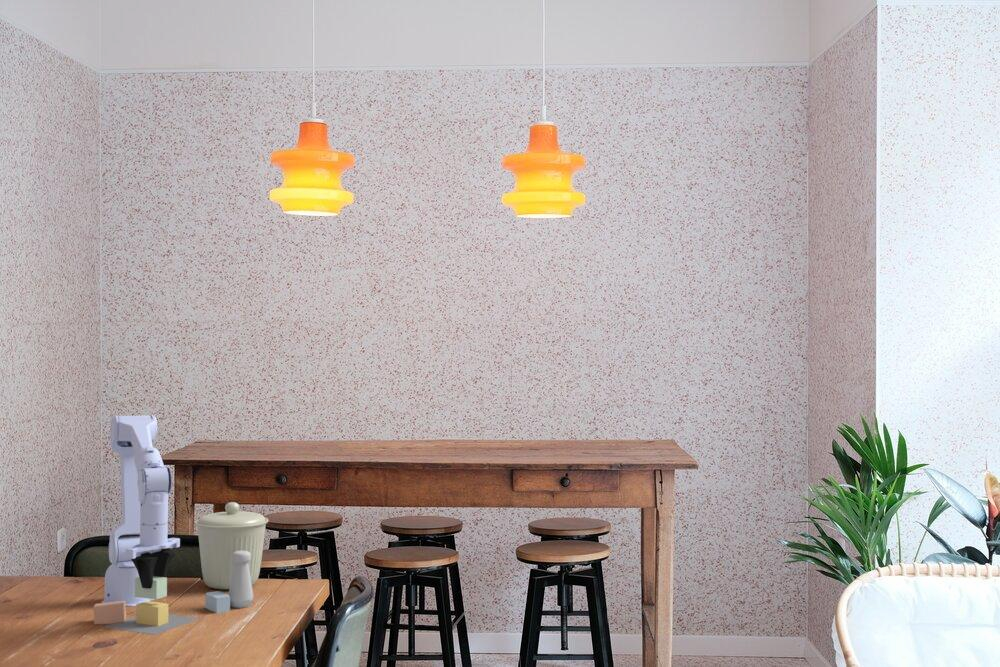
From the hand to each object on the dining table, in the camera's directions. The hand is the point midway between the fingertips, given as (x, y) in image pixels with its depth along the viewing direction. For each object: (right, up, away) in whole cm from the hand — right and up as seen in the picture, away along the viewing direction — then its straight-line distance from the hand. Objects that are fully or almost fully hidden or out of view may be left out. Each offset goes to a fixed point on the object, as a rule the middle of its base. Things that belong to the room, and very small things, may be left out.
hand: (152, 586), depth 216 cm
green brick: (0, -2, 0) cm, 2 cm away
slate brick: (+11, -9, +12) cm, 18 cm away
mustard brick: (0, -8, 0) cm, 8 cm away
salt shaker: (+15, -9, +15) cm, 23 cm away
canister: (+7, -10, +37) cm, 39 cm away
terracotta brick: (-9, -8, +1) cm, 12 cm away
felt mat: (0, -8, 0) cm, 8 cm away
